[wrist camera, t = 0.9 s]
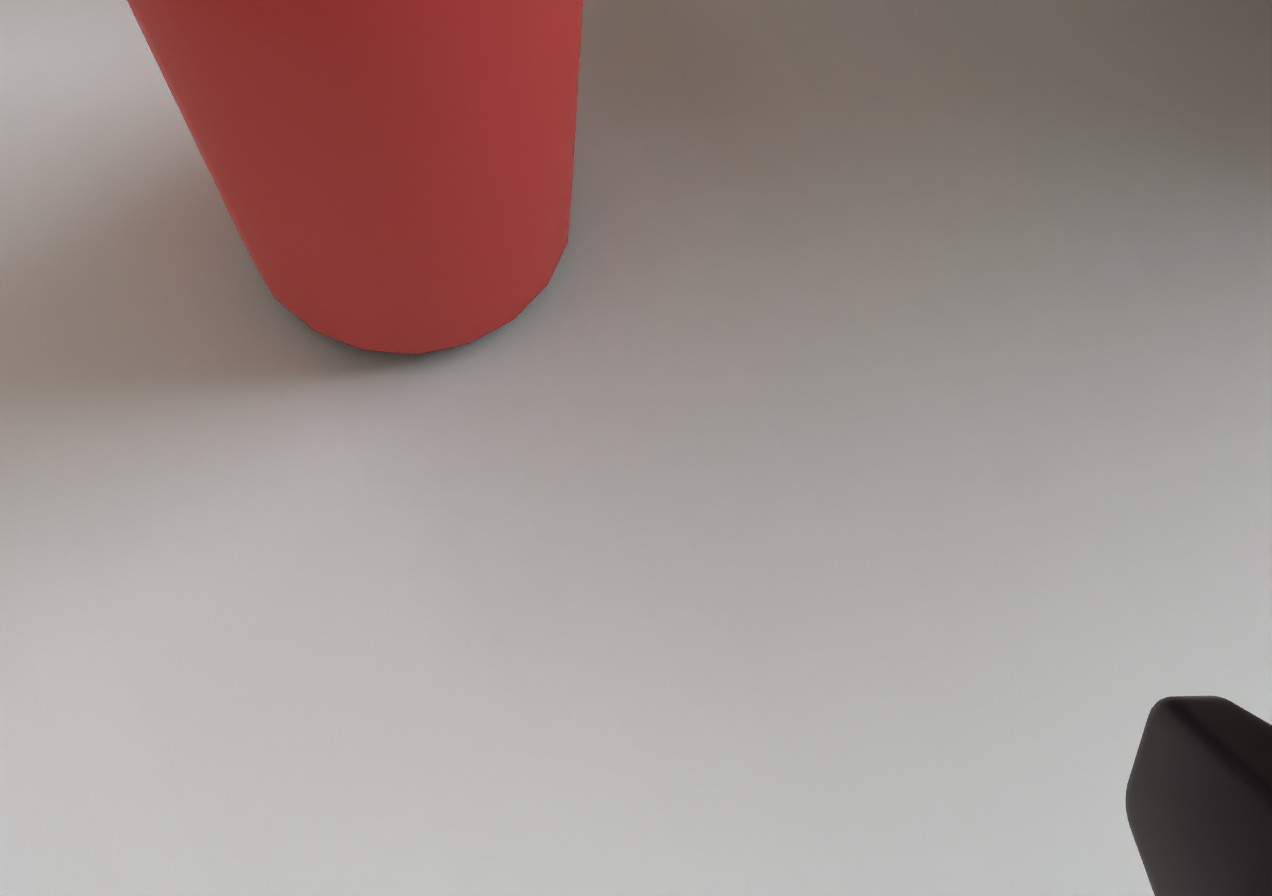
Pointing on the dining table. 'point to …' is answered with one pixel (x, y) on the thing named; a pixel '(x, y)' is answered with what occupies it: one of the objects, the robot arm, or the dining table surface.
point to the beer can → (384, 152)
